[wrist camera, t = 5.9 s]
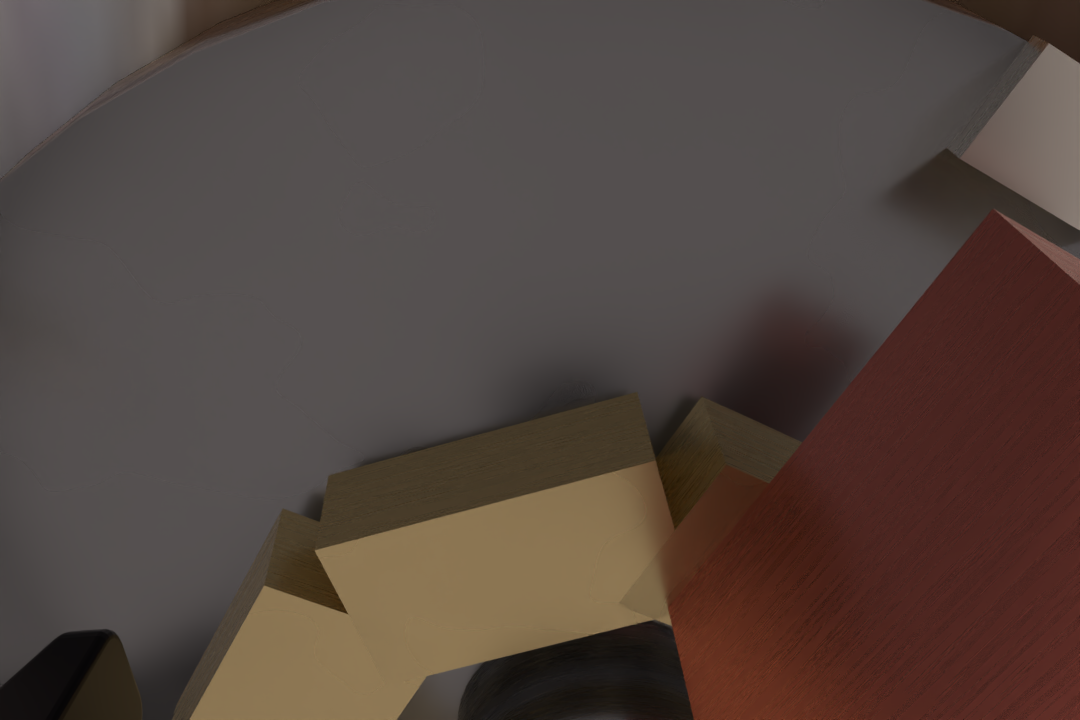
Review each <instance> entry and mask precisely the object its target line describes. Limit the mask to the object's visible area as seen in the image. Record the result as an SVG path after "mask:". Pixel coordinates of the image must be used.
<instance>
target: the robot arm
mask: <svg viewBox="0 0 1080 720" xmlns="http://www.w3.org/2000/svg"><path fill="white" fill-rule="evenodd" d="M0 720H142V702H141V697H140V693H139V690H138V687H137V684H136V681H135V679H134V676H133V673H132V670H131V667H130V664H129V661H128V659H127V656H126V653H125V650H124V647H123V644H122V642H121V640H120V638H119V636H118V635H117V634H116V633H115V632H114V631H112V630H108V629H97V630H83V631H70V632H66V633H63V634H61V635H59V636H58V637H56V638H55V639H54V640H53V641H51V642H50V643H49V644H48V645H47V646H46V647H45V648H44V649H42V650H41V651H40V652H39V653H38V654H37V655H36V656H35V657H34V658H32V659H31V660H30V661H29V662H28V663H27V664H26V665H25V666H23V667H22V668H21V669H20V670H19V671H18V672H17V673H16V674H14V675H13V676H12V677H11V678H10V679H9V680H8V681H7V682H5V683H4V684H3V685H2V686H1V687H0Z"/></svg>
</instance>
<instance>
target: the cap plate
mask: <svg viewBox="0 0 1080 720" xmlns="http://www.w3.org/2000/svg"><path fill="white" fill-rule="evenodd" d="M992 209H995V210H997V211H998V212H1000V213H1002V214H1003V215H1005V216H1007V217H1009V218H1010V219H1012V220H1014V221H1015V222H1017V223H1019V224H1021V225H1022V226H1024V227H1026V228H1027V229H1029V230H1031V231H1032V232H1034V233H1036V234H1038V235H1039V236H1041V237H1043V238H1044V239H1046V240H1048V241H1049V242H1051V243H1053V244H1055V245H1056V246H1058V247H1060V248H1061V249H1063V250H1065V251H1067V252H1068V253H1070V254H1072V255H1073V256H1075V257H1077V258H1078V259H1080V64H1079V63H1078V62H1076V61H1075V60H1073V59H1072V58H1070V57H1069V56H1067V55H1066V54H1064V53H1063V52H1061V51H1060V50H1058V49H1057V48H1055V47H1054V46H1052V45H1051V44H1049V43H1047V42H1046V41H1044V40H1042V39H1040V38H1038V37H1036V36H1034V35H1033V36H1032V37H1031V39H1030V40H1029V41H1028V42H1027V41H1026V40H1024V39H1022V38H1020V37H1018V36H1016V35H1015V34H1013V33H1011V32H1009V31H1007V30H1005V29H1004V28H1002V27H1000V26H998V25H996V24H994V23H992V22H990V21H988V20H986V19H985V18H983V17H981V16H979V15H977V14H975V13H973V12H971V11H969V10H968V9H966V8H964V7H962V6H960V5H958V4H956V3H954V2H952V1H949V0H277V1H274V2H271V3H269V4H266V5H264V6H261V7H259V8H256V9H254V10H251V11H249V12H246V13H244V14H241V15H239V16H236V17H234V18H231V19H228V20H226V21H223V22H221V23H219V24H217V25H215V26H214V27H212V28H210V29H208V30H207V31H205V32H203V33H201V34H200V35H198V36H196V37H195V38H193V39H191V40H189V41H188V42H186V43H184V44H182V45H181V46H179V47H177V48H175V49H174V50H172V51H170V52H169V53H167V54H165V55H163V56H162V57H160V58H158V59H156V60H155V61H153V62H151V63H149V64H148V65H146V66H144V67H143V68H141V69H139V70H137V71H136V72H134V73H132V74H130V75H129V76H127V77H125V78H123V79H122V80H120V81H118V82H117V83H115V84H114V85H113V86H111V87H110V88H109V89H108V90H106V91H105V92H104V93H103V94H101V95H100V96H99V97H98V98H96V99H95V100H94V101H93V102H91V103H90V104H89V105H88V106H86V107H85V108H84V109H83V110H82V111H80V112H79V113H78V114H77V115H75V116H74V117H73V118H72V119H70V120H69V121H68V122H67V123H65V124H64V125H63V126H62V127H60V128H59V129H58V130H57V131H55V132H54V133H53V134H52V135H50V136H49V137H48V138H47V139H45V140H44V141H43V142H42V143H40V144H39V145H38V146H37V147H36V148H34V149H33V150H32V151H31V152H29V153H28V154H27V155H26V156H25V157H24V158H23V159H22V160H21V161H20V162H18V163H17V164H16V165H15V166H14V167H13V168H12V169H11V170H10V171H9V172H8V173H7V174H6V175H5V176H4V177H2V178H1V179H0V687H1V686H2V685H3V684H4V683H5V682H7V681H8V680H9V679H10V678H11V677H12V676H13V675H14V674H16V673H17V672H18V671H19V670H20V669H21V668H22V667H23V666H25V665H26V664H27V663H28V662H29V661H30V660H31V659H32V658H34V657H35V656H36V655H37V654H38V653H39V652H40V651H41V650H42V649H44V648H45V647H46V646H47V645H48V644H49V643H50V642H51V641H53V640H54V639H55V638H56V637H58V636H59V635H61V634H63V633H66V632H70V631H83V630H97V629H108V630H112V631H114V632H115V633H116V634H117V635H118V636H119V638H120V640H121V642H122V644H123V647H124V650H125V653H126V656H127V659H128V661H129V664H130V667H131V670H132V673H133V676H134V679H135V681H136V684H137V687H138V690H139V693H140V697H141V702H142V720H172V718H173V714H174V711H175V708H176V704H177V702H178V700H179V699H180V697H181V695H182V693H183V691H184V689H185V687H186V686H187V684H188V682H189V680H190V678H191V676H192V675H193V673H194V671H195V669H196V667H197V665H198V664H199V662H200V660H201V658H202V656H203V654H204V652H205V651H206V649H207V647H208V645H209V643H210V641H211V640H212V638H213V636H214V634H215V632H216V630H217V628H218V627H219V625H220V623H221V621H222V619H223V617H224V616H225V614H226V612H227V610H228V608H229V606H230V604H231V603H232V601H233V599H234V597H235V595H236V593H237V592H238V590H239V588H240V586H241V584H242V582H243V580H244V579H245V577H246V575H247V573H248V571H249V569H250V568H251V566H252V564H253V562H254V560H255V558H256V557H257V555H258V553H259V551H260V549H261V547H262V545H263V544H264V542H265V540H266V538H267V536H268V534H269V533H270V531H271V529H272V527H273V525H274V523H275V521H276V520H277V518H278V516H279V514H280V512H281V510H282V509H286V510H289V511H291V512H294V513H297V514H299V515H302V516H305V517H308V518H310V519H313V520H316V521H318V522H320V519H321V514H322V508H323V503H324V498H325V492H326V487H327V482H328V476H329V475H331V474H335V473H339V472H342V471H346V470H350V469H353V468H357V467H361V466H364V465H368V464H372V463H376V462H379V461H383V460H387V459H390V458H394V457H398V456H402V455H405V454H409V453H413V452H416V451H420V450H424V449H427V448H431V447H435V446H439V445H442V444H446V443H450V442H453V441H457V440H461V439H464V438H468V437H472V436H476V435H479V434H483V433H487V432H490V431H494V430H498V429H502V428H505V427H509V426H513V425H516V424H520V423H524V422H527V421H531V420H535V419H539V418H542V417H546V416H550V415H553V414H557V413H561V412H565V411H568V410H572V409H576V408H579V407H583V406H587V405H590V404H594V403H598V402H602V401H605V400H609V399H613V398H616V397H620V396H624V395H627V394H631V393H635V392H637V393H638V396H639V400H640V404H641V407H642V411H643V414H644V418H645V422H646V425H647V429H648V432H649V436H650V439H651V443H652V447H653V450H654V454H655V457H657V456H658V454H659V453H660V452H661V450H662V449H663V448H664V446H665V445H666V444H667V442H668V441H669V440H670V438H671V437H672V436H673V434H674V433H675V431H676V430H677V429H678V427H679V426H680V425H681V423H682V422H683V421H684V419H685V418H686V417H687V415H688V414H689V412H690V411H691V410H692V408H693V407H694V406H695V404H696V403H697V402H698V400H699V399H700V398H701V396H703V397H705V398H707V399H709V400H711V401H714V402H716V403H718V404H720V405H722V406H724V407H727V408H729V409H731V410H733V411H735V412H737V413H740V414H742V415H744V416H746V417H748V418H750V419H753V420H755V421H757V422H759V423H761V424H763V425H766V426H768V427H770V428H772V429H774V430H776V431H779V432H781V433H783V434H785V435H787V436H789V437H792V438H794V439H796V440H798V441H800V442H803V441H804V440H805V439H806V437H807V436H808V435H809V434H810V433H811V431H812V430H813V429H814V428H815V426H816V425H817V424H818V423H819V421H820V420H821V419H822V418H823V417H824V415H825V414H826V413H827V412H828V410H829V409H830V408H831V407H832V405H833V404H834V403H835V402H836V401H837V399H838V398H839V397H840V396H841V394H842V393H843V392H844V391H845V389H846V388H847V387H848V386H849V385H850V383H851V382H852V381H853V380H854V378H855V377H856V376H857V375H858V373H859V372H860V371H861V370H862V369H863V367H864V366H865V365H866V364H867V362H868V361H869V360H870V359H871V357H872V356H873V355H874V354H875V353H876V351H877V350H878V349H879V348H880V346H881V345H882V344H883V343H884V341H885V340H886V339H887V338H888V337H889V335H890V334H891V333H892V332H893V330H894V329H895V328H896V327H897V325H898V324H899V323H900V322H901V321H902V319H903V318H904V317H905V316H906V314H907V313H908V312H909V311H910V309H911V308H912V307H913V306H914V305H915V303H916V302H917V301H918V300H919V298H920V297H921V296H922V295H923V294H924V292H925V291H926V290H927V289H928V287H929V286H930V285H931V284H932V282H933V281H934V280H935V279H936V278H937V276H938V275H939V274H940V273H941V271H942V270H943V269H944V268H945V266H946V265H947V264H948V263H949V262H950V260H951V259H952V258H953V257H954V255H955V254H956V253H957V252H958V250H959V249H960V248H961V247H962V246H963V244H964V243H965V242H966V241H967V239H968V238H969V237H970V236H971V234H972V233H973V232H974V231H975V230H976V228H977V227H978V226H979V225H980V223H981V222H982V221H983V220H984V218H985V217H986V216H987V215H988V214H989V212H990V211H991V210H992ZM397 720H694V718H693V713H692V709H691V705H690V701H689V696H688V692H687V688H686V683H685V679H684V675H683V671H682V666H681V662H680V658H679V654H678V649H677V645H676V641H675V636H674V632H673V628H672V626H671V625H668V624H665V623H663V622H660V621H657V620H655V619H654V620H650V621H646V622H642V623H638V624H634V625H630V626H626V627H622V628H618V629H614V630H610V631H606V632H602V633H598V634H594V635H590V636H586V637H582V638H578V639H574V640H570V641H566V642H562V643H558V644H554V645H550V646H546V647H542V648H538V649H534V650H530V651H526V652H522V653H517V654H513V655H509V656H505V657H501V658H497V659H493V660H489V661H485V662H481V663H477V664H473V665H469V666H465V667H461V668H457V669H453V670H449V671H445V672H441V673H437V674H433V675H429V676H427V677H426V678H425V680H424V681H423V682H422V684H421V685H420V687H419V688H418V690H417V691H416V693H415V694H414V695H413V697H412V698H411V700H410V701H409V703H408V704H407V705H406V707H405V708H404V710H403V711H402V713H401V714H400V716H399V717H398V718H397Z"/></svg>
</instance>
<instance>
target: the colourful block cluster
mask: <svg viewBox="0 0 1080 720" xmlns="http://www.w3.org/2000/svg"><path fill="white" fill-rule="evenodd" d="M654 619H655V620H657V621H660V622H663V623H665V624H668V625H671V626H672V628H673V632H674V636H675V641H676V645H677V649H678V654H679V658H680V662H681V666H682V671H683V675H684V679H685V683H686V688H687V692H688V696H689V701H690V705H691V709H692V713H693V718H694V720H1080V259H1078V258H1077V257H1075V256H1073V255H1072V254H1070V253H1068V252H1067V251H1065V250H1063V249H1061V248H1060V247H1058V246H1056V245H1055V244H1053V243H1051V242H1049V241H1048V240H1046V239H1044V238H1043V237H1041V236H1039V235H1038V234H1036V233H1034V232H1032V231H1031V230H1029V229H1027V228H1026V227H1024V226H1022V225H1021V224H1019V223H1017V222H1015V221H1014V220H1012V219H1010V218H1009V217H1007V216H1005V215H1003V214H1002V213H1000V212H998V211H997V210H995V209H992V210H991V211H990V212H989V214H988V215H987V216H986V217H985V218H984V220H983V221H982V222H981V223H980V225H979V226H978V227H977V228H976V230H975V231H974V232H973V233H972V234H971V236H970V237H969V238H968V239H967V241H966V242H965V243H964V244H963V246H962V247H961V248H960V249H959V250H958V252H957V253H956V254H955V255H954V257H953V258H952V259H951V260H950V262H949V263H948V264H947V265H946V266H945V268H944V269H943V270H942V271H941V273H940V274H939V275H938V276H937V278H936V279H935V280H934V281H933V282H932V284H931V285H930V286H929V287H928V289H927V290H926V291H925V292H924V294H923V295H922V296H921V297H920V298H919V300H918V301H917V302H916V303H915V305H914V306H913V307H912V308H911V309H910V311H909V312H908V313H907V314H906V316H905V317H904V318H903V319H902V321H901V322H900V323H899V324H898V325H897V327H896V328H895V329H894V330H893V332H892V333H891V334H890V335H889V337H888V338H887V339H886V340H885V341H884V343H883V344H882V345H881V346H880V348H879V349H878V350H877V351H876V353H875V354H874V355H873V356H872V357H871V359H870V360H869V361H868V362H867V364H866V365H865V366H864V367H863V369H862V370H861V371H860V372H859V373H858V375H857V376H856V377H855V378H854V380H853V381H852V382H851V383H850V385H849V386H848V387H847V388H846V389H845V391H844V392H843V393H842V394H841V396H840V397H839V398H838V399H837V401H836V402H835V403H834V404H833V405H832V407H831V408H830V409H829V410H828V412H827V413H826V414H825V415H824V417H823V418H822V419H821V420H820V421H819V423H818V424H817V425H816V426H815V428H814V429H813V430H812V431H811V433H810V434H809V435H808V436H807V437H806V439H805V440H804V441H803V442H800V441H798V440H796V439H794V438H792V437H789V436H787V435H785V434H783V433H781V432H779V431H776V430H774V429H772V428H770V427H768V426H766V425H763V424H761V423H759V422H757V421H755V420H753V419H750V418H748V417H746V416H744V415H742V414H740V413H737V412H735V411H733V410H731V409H729V408H727V407H724V406H722V405H720V404H718V403H716V402H714V401H711V400H709V399H707V398H705V397H703V396H701V398H700V399H699V400H698V402H697V403H696V404H695V406H694V407H693V408H692V410H691V411H690V412H689V414H688V415H687V417H686V418H685V419H684V421H683V422H682V423H681V425H680V426H679V427H678V429H677V430H676V431H675V433H674V434H673V436H672V437H671V438H670V440H669V441H668V442H667V444H666V445H665V446H664V448H663V449H662V450H661V452H660V453H659V454H658V456H657V457H655V454H654V450H653V447H652V443H651V439H650V436H649V432H648V429H647V425H646V422H645V418H644V414H643V411H642V407H641V404H640V400H639V396H638V393H637V392H635V393H631V394H627V395H624V396H620V397H616V398H613V399H609V400H605V401H602V402H598V403H594V404H590V405H587V406H583V407H579V408H576V409H572V410H568V411H565V412H561V413H557V414H553V415H550V416H546V417H542V418H539V419H535V420H531V421H527V422H524V423H520V424H516V425H513V426H509V427H505V428H502V429H498V430H494V431H490V432H487V433H483V434H479V435H476V436H472V437H468V438H464V439H461V440H457V441H453V442H450V443H446V444H442V445H439V446H435V447H431V448H427V449H424V450H420V451H416V452H413V453H409V454H405V455H402V456H398V457H394V458H390V459H387V460H383V461H379V462H376V463H372V464H368V465H364V466H361V467H357V468H353V469H350V470H346V471H342V472H339V473H335V474H331V475H329V476H328V482H327V487H326V492H325V498H324V503H323V508H322V514H321V519H320V522H318V521H316V520H313V519H310V518H308V517H305V516H302V515H299V514H297V513H294V512H291V511H289V510H286V509H282V510H281V512H280V514H279V516H278V518H277V520H276V521H275V523H274V525H273V527H272V529H271V531H270V533H269V534H268V536H267V538H266V540H265V542H264V544H263V545H262V547H261V549H260V551H259V553H258V555H257V557H256V558H255V560H254V562H253V564H252V566H251V568H250V569H249V571H248V573H247V575H246V577H245V579H244V580H243V582H242V584H241V586H240V588H239V590H238V592H237V593H236V595H235V597H234V599H233V601H232V603H231V604H230V606H229V608H228V610H227V612H226V614H225V616H224V617H223V619H222V621H221V623H220V625H219V627H218V628H217V630H216V632H215V634H214V636H213V638H212V640H211V641H210V643H209V645H208V647H207V649H206V651H205V652H204V654H203V656H202V658H201V660H200V662H199V664H198V665H197V667H196V669H195V671H194V673H193V675H192V676H191V678H190V680H189V682H188V684H187V686H186V687H185V689H184V691H183V693H182V695H181V697H180V699H179V700H178V702H177V704H176V708H175V711H174V714H173V718H172V720H397V718H398V717H399V716H400V714H401V713H402V711H403V710H404V708H405V707H406V705H407V704H408V703H409V701H410V700H411V698H412V697H413V695H414V694H415V693H416V691H417V690H418V688H419V687H420V685H421V684H422V682H423V681H424V680H425V678H426V677H427V676H429V675H433V674H437V673H441V672H445V671H449V670H453V669H457V668H461V667H465V666H469V665H473V664H477V663H481V662H485V661H489V660H493V659H497V658H501V657H505V656H509V655H513V654H517V653H522V652H526V651H530V650H534V649H538V648H542V647H546V646H550V645H554V644H558V643H562V642H566V641H570V640H574V639H578V638H582V637H586V636H590V635H594V634H598V633H602V632H606V631H610V630H614V629H618V628H622V627H626V626H630V625H634V624H638V623H642V622H646V621H650V620H654Z"/></svg>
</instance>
